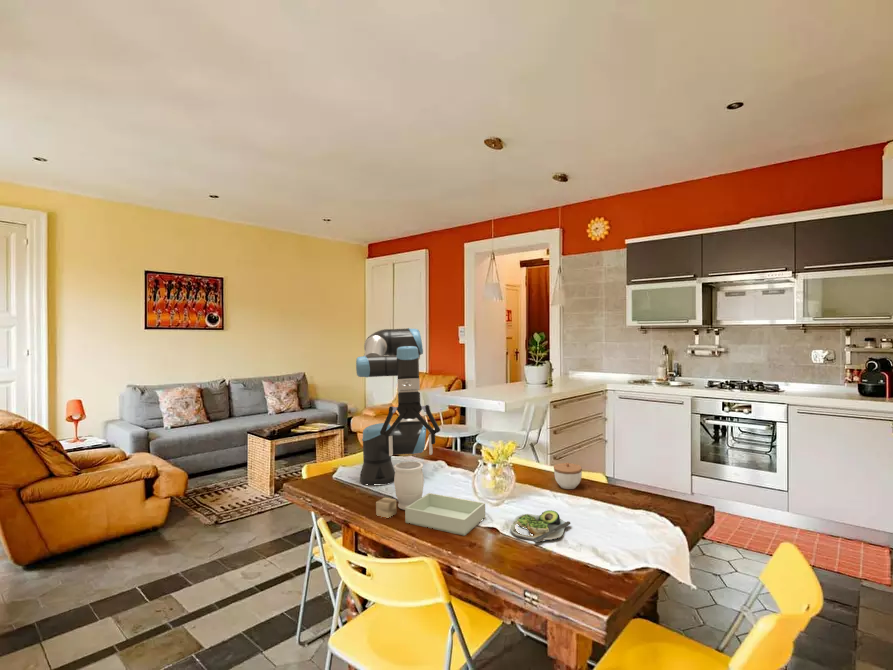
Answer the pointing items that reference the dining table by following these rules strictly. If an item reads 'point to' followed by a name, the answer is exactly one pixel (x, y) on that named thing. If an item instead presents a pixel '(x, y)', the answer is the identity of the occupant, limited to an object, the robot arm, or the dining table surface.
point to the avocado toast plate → (540, 526)
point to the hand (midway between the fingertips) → (411, 455)
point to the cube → (386, 507)
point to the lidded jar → (568, 475)
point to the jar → (408, 482)
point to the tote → (445, 513)
